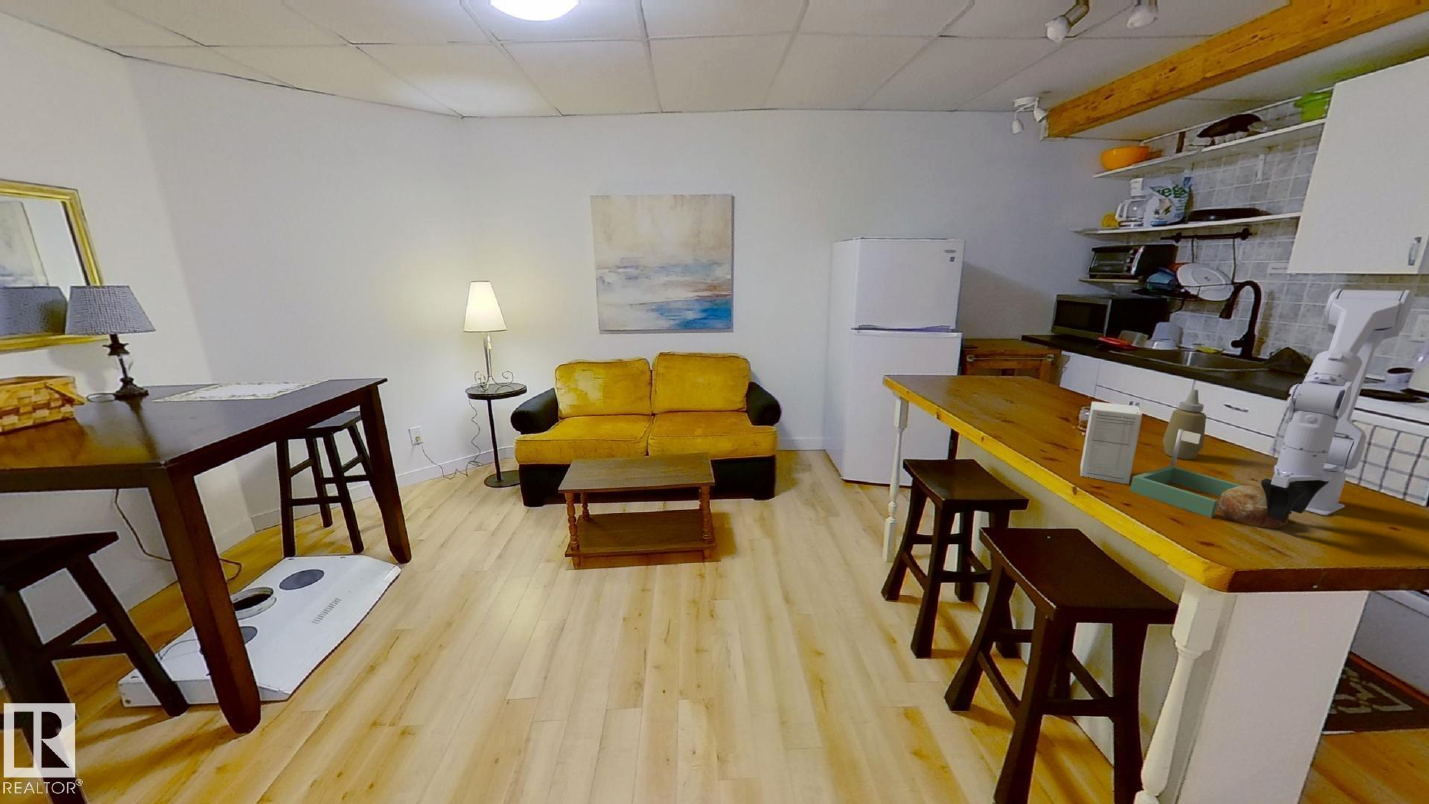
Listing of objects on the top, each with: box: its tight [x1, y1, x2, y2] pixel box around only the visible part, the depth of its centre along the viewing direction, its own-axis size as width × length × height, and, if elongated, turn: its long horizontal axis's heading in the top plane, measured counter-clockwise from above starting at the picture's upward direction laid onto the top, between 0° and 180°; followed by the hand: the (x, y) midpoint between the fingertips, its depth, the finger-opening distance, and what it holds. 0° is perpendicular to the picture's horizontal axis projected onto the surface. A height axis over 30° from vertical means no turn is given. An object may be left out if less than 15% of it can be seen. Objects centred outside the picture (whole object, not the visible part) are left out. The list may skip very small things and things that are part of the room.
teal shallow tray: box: [1129, 429, 1244, 519], centre depth 110 cm, size 15×14×12 cm
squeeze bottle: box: [1162, 388, 1207, 460], centre depth 134 cm, size 8×8×18 cm
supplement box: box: [1079, 401, 1143, 485], centre depth 122 cm, size 10×9×17 cm
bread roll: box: [1216, 485, 1292, 529], centre depth 102 cm, size 10×10×8 cm
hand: (1285, 515), depth 98 cm, fingers open, 7 cm apart
